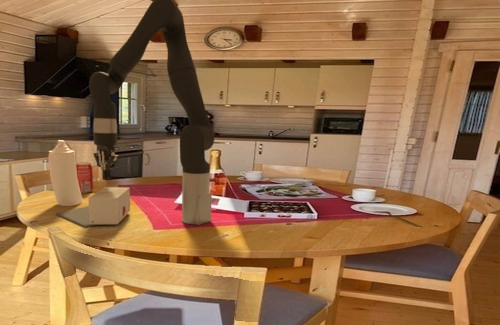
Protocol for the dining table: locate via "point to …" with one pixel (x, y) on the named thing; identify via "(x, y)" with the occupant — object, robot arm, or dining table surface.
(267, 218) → the dining table surface
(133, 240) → the dining table surface
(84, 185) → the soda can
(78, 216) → the mat
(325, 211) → the dining table surface
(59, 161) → the white bottle
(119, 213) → the supplement box
